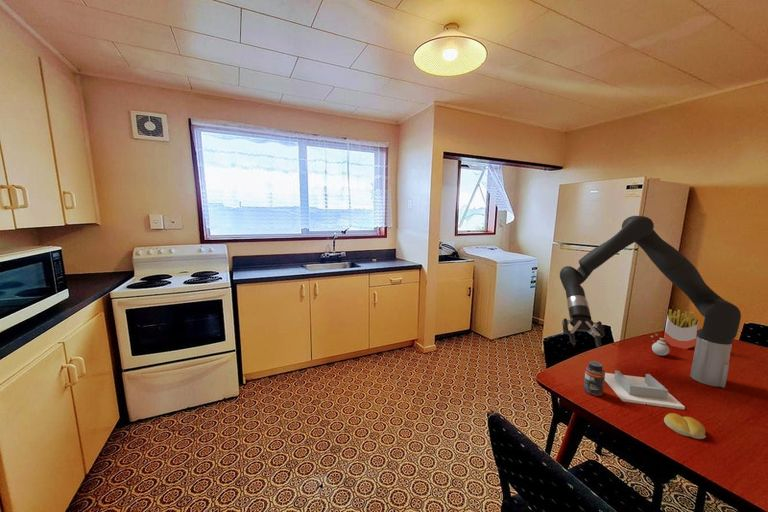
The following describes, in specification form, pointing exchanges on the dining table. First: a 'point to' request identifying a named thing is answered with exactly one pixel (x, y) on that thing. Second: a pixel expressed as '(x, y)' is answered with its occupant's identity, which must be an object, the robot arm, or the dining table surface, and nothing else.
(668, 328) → the french fries container
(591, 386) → the supplement bottle
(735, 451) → the dining table surface
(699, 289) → the robot arm
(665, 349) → the ornament
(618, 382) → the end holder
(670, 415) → the bread roll
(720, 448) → the dining table surface
